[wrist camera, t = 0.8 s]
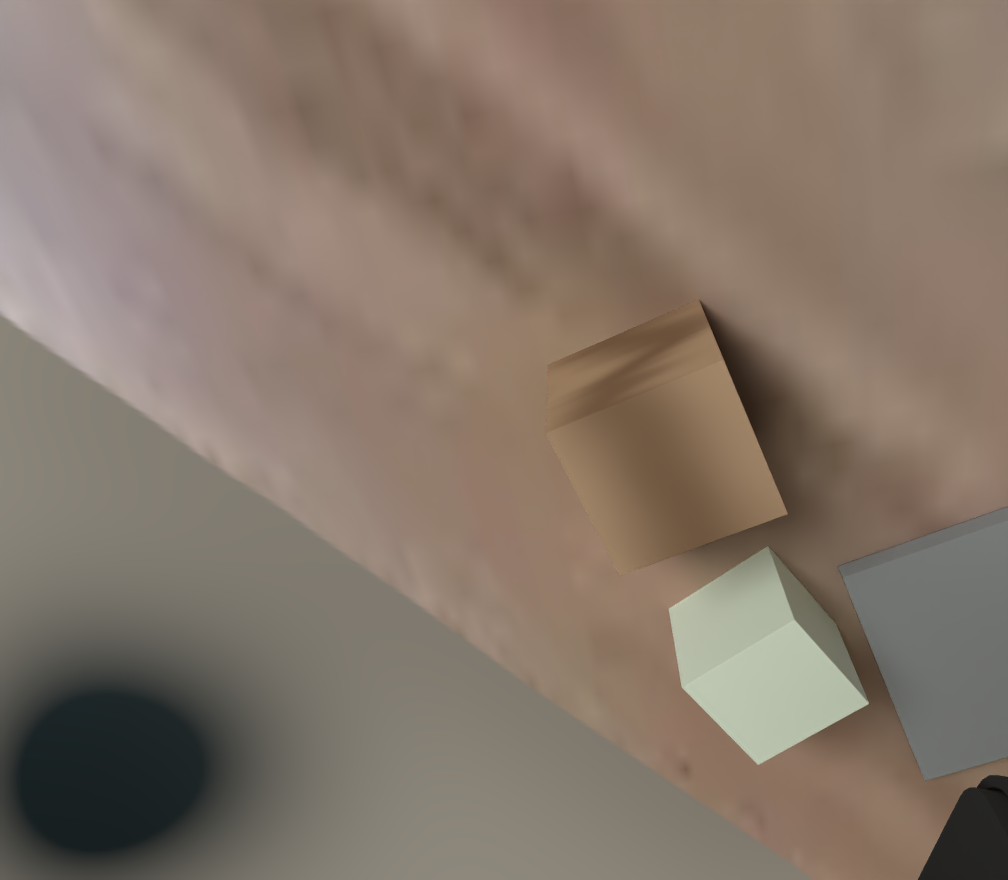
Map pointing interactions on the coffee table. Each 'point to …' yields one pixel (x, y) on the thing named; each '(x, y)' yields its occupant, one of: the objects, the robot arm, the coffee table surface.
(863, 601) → the slate coaster
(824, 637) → the pale green block
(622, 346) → the walnut cube
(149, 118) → the coffee table surface
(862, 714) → the coffee table surface
